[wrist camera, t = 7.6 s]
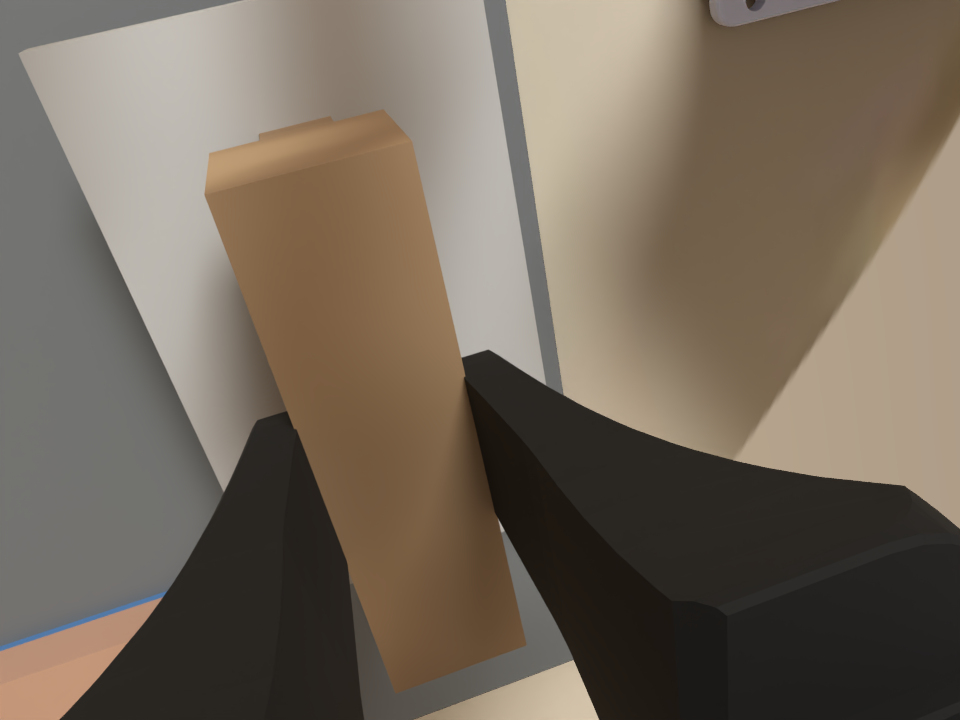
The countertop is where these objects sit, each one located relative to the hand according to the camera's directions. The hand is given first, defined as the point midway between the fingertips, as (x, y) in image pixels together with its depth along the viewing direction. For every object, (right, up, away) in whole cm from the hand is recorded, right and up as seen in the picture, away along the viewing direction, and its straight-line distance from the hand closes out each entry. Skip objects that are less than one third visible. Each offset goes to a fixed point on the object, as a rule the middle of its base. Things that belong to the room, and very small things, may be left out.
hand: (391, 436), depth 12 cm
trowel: (-1, +2, +3) cm, 4 cm away
